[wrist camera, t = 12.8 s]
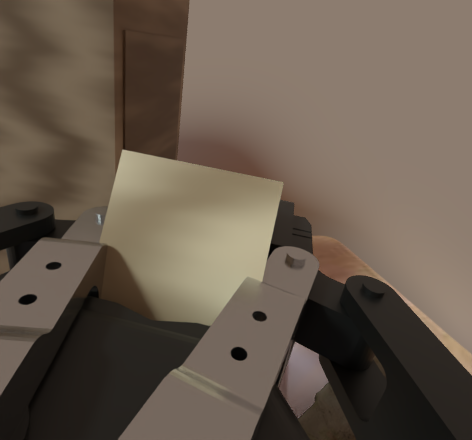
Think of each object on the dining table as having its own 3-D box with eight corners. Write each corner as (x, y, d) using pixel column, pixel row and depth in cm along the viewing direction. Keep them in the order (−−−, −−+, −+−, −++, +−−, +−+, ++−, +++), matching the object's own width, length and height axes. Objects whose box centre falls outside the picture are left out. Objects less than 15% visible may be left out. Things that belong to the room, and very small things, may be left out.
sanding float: (9, 292, 7) (55, 117, 7) (197, 258, 28) (207, 212, 28) (330, 375, 7) (369, 180, 7) (278, 277, 27) (288, 230, 28)
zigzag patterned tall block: (15, 355, 31) (-83, -102, 16) (89, 279, 41) (71, -38, 27) (119, 384, 30) (115, -72, 15) (167, 298, 40) (192, -18, 26)
